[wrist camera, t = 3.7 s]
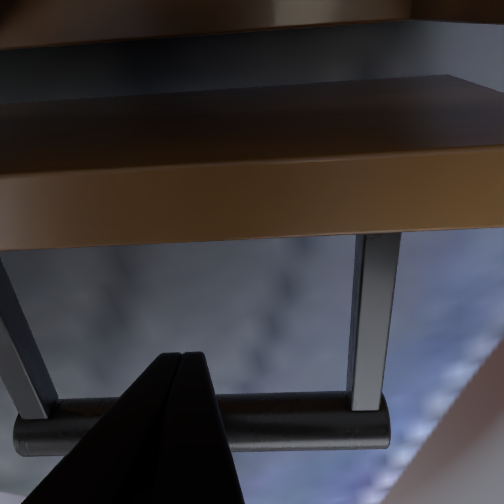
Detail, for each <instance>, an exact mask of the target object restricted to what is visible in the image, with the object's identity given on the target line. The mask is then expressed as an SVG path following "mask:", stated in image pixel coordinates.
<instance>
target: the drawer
mask: <svg viewBox="0 0 504 504" xmlns="http://www.w3.org/2000/svg"><path fill="white" fill-rule="evenodd" d="M409 20H413V21H433V22H453V23H473V24H494V25H504V0H0V50H12V49H26V48H40V47H53V46H67V45H81V44H94V43H108V42H122V41H135V40H149V39H163V38H176V37H190V36H204V35H217V34H231V33H245V32H259V31H272V30H286V29H300V28H313V27H327V26H341V25H354V24H368V23H382V22H395V21H409ZM499 227H504V93H502V92H499V91H496V90H493V89H490V88H487V87H484V86H481V85H478V84H475V83H472V82H469V81H466V80H463V79H460V78H457V77H454V76H451V75H448V74H446V75H431V76H416V77H401V78H386V79H370V80H355V81H340V82H325V83H310V84H295V85H280V86H265V87H250V88H235V89H220V90H204V91H189V92H174V93H159V94H144V95H129V96H114V97H99V98H84V99H69V100H53V101H38V102H23V103H8V104H0V251H15V250H36V249H57V248H78V247H99V246H120V245H141V244H162V243H183V242H204V241H225V240H246V239H267V238H288V237H309V236H330V235H351V234H356V244H355V260H354V276H353V291H352V307H351V323H350V338H349V354H348V370H347V385H346V391H317V392H282V393H247V394H215V395H216V399H217V402H218V406H219V410H220V414H221V417H222V421H223V425H224V428H225V432H226V436H227V439H228V443H229V447H230V450H231V452H267V451H314V450H361V449H387V448H388V447H389V445H390V440H391V425H390V417H389V411H388V406H387V403H386V400H385V397H384V395H383V393H382V386H383V378H384V370H385V362H386V354H387V346H388V338H389V330H390V321H391V313H392V305H393V297H394V289H395V281H396V273H397V265H398V257H399V249H400V240H401V232H414V231H435V230H456V229H477V228H499ZM0 376H1V378H2V380H3V382H4V384H5V386H6V388H7V390H8V392H9V394H10V396H11V398H12V400H13V402H14V404H15V406H16V408H17V410H18V412H19V413H18V416H17V418H16V421H15V425H14V430H13V443H14V447H15V450H16V452H17V453H18V454H19V455H21V456H23V457H33V456H66V455H67V453H68V452H69V451H70V450H71V449H72V448H73V447H74V446H75V445H76V444H77V443H78V442H79V441H80V439H81V438H82V437H83V436H84V435H85V434H86V433H87V432H88V431H89V430H90V429H91V428H92V427H93V425H94V424H95V423H96V422H97V421H98V420H99V419H100V418H101V417H102V416H103V415H104V414H105V413H106V411H107V410H108V409H109V408H110V407H111V406H112V405H113V404H114V403H115V402H116V401H117V400H118V399H119V397H107V398H72V399H58V394H57V392H56V390H55V387H54V385H53V382H52V380H51V378H50V375H49V373H48V370H47V368H46V366H45V363H44V361H43V358H42V356H41V354H40V351H39V349H38V347H37V344H36V342H35V339H34V337H33V335H32V332H31V330H30V327H29V325H28V323H27V320H26V318H25V315H24V313H23V311H22V308H21V306H20V304H19V301H18V299H17V296H16V294H15V292H14V289H13V287H12V284H11V282H10V280H9V277H8V275H7V272H6V270H5V268H4V265H3V263H2V261H1V258H0Z"/></svg>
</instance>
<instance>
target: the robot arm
mask: <svg viewBox="0 0 504 504" xmlns="http://www.w3.org/2000/svg"><path fill="white" fill-rule="evenodd" d="M21 504H245V502H244V498H243V495H242V491H241V487H240V484H239V480H238V476H237V473H236V469H235V465H234V461H233V458H232V454H231V450H230V447H229V443H228V439H227V436H226V432H225V428H224V425H223V421H222V417H221V414H220V410H219V406H218V402H217V399H216V395H215V391H214V388H213V384H212V380H211V377H210V373H209V369H208V366H207V362H206V358H205V355H204V353H203V352H185V353H183V354H181V353H179V352H174V353H161V354H160V355H159V356H158V357H157V358H156V359H155V360H154V361H153V362H152V363H151V364H150V365H149V366H148V367H147V368H146V369H145V371H144V372H143V373H142V374H141V375H140V376H139V377H138V378H137V379H136V380H135V381H134V382H133V383H132V385H131V386H130V387H129V388H128V389H127V390H126V391H125V392H124V393H123V394H122V395H121V396H120V397H119V399H118V400H117V401H116V402H115V403H114V404H113V405H112V406H111V407H110V408H109V409H108V410H107V411H106V413H105V414H104V415H103V416H102V417H101V418H100V419H99V420H98V421H97V422H96V423H95V424H94V425H93V427H92V428H91V429H90V430H89V431H88V432H87V433H86V434H85V435H84V436H83V437H82V438H81V439H80V441H79V442H78V443H77V444H76V445H75V446H74V447H73V448H72V449H71V450H70V451H69V452H68V453H67V455H66V456H65V457H64V458H63V459H62V460H61V461H60V462H59V463H58V464H57V465H56V466H55V467H54V469H53V470H52V471H51V472H50V473H49V474H48V475H47V476H46V477H45V478H44V479H43V480H42V481H41V482H40V484H39V485H38V486H37V487H36V488H35V489H34V490H33V491H32V492H31V493H30V494H29V495H28V496H27V498H26V499H25V500H24V501H23V502H22V503H21Z"/></svg>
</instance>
